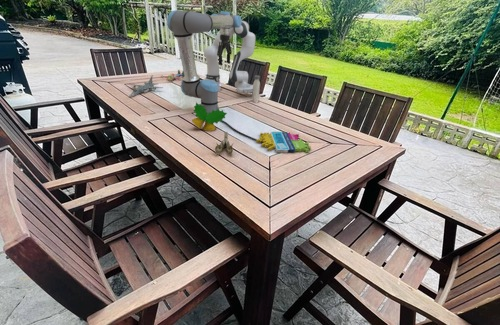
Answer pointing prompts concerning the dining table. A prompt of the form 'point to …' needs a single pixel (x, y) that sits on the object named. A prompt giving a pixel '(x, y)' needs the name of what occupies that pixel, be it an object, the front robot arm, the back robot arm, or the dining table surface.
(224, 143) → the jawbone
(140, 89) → the airplane
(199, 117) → the ornament
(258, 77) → the cap
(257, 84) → the bottle
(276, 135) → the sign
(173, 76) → the toy
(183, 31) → the front robot arm
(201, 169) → the dining table surface
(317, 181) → the dining table surface
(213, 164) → the dining table surface
